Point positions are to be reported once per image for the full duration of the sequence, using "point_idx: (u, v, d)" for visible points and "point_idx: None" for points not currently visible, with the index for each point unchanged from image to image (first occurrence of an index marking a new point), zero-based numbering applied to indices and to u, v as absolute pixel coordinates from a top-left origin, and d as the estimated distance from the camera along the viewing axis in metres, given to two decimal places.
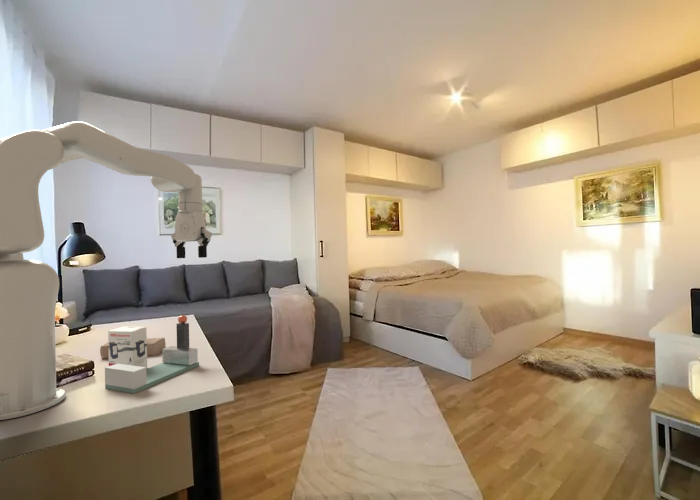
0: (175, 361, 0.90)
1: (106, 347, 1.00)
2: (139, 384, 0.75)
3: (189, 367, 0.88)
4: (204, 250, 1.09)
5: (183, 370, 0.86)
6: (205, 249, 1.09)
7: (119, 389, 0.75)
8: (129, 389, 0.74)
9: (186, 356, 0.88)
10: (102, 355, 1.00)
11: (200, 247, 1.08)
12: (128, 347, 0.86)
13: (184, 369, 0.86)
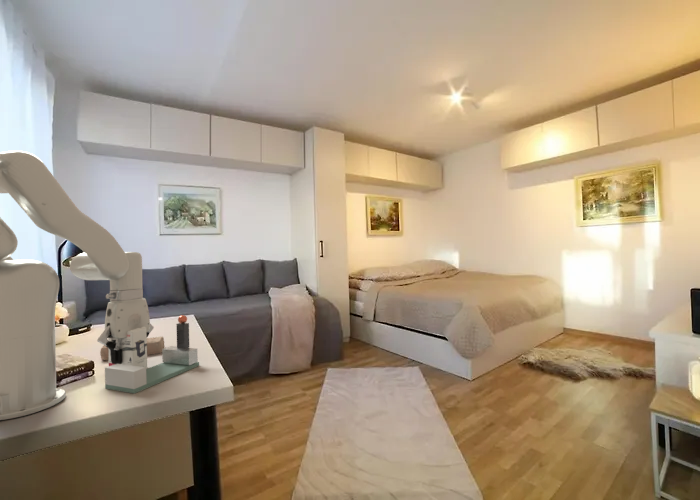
0: (175, 361, 0.90)
1: None
2: (139, 384, 0.75)
3: (189, 367, 0.88)
4: None
5: (183, 370, 0.86)
6: None
7: (119, 389, 0.75)
8: (129, 389, 0.74)
9: (186, 356, 0.88)
10: (103, 357, 0.98)
11: None
12: (128, 347, 0.86)
13: (184, 369, 0.86)
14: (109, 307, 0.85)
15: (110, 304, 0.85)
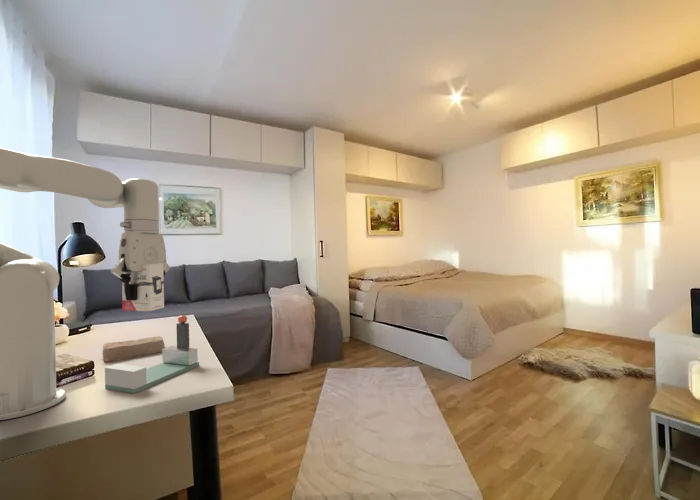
0: (175, 361, 0.90)
1: (111, 349, 0.97)
2: (139, 384, 0.75)
3: (189, 367, 0.88)
4: None
5: (183, 370, 0.86)
6: None
7: (119, 389, 0.75)
8: (129, 389, 0.74)
9: (186, 356, 0.88)
10: (106, 358, 0.97)
11: None
12: (144, 281, 0.78)
13: (184, 369, 0.86)
14: (123, 237, 0.77)
15: (125, 234, 0.77)
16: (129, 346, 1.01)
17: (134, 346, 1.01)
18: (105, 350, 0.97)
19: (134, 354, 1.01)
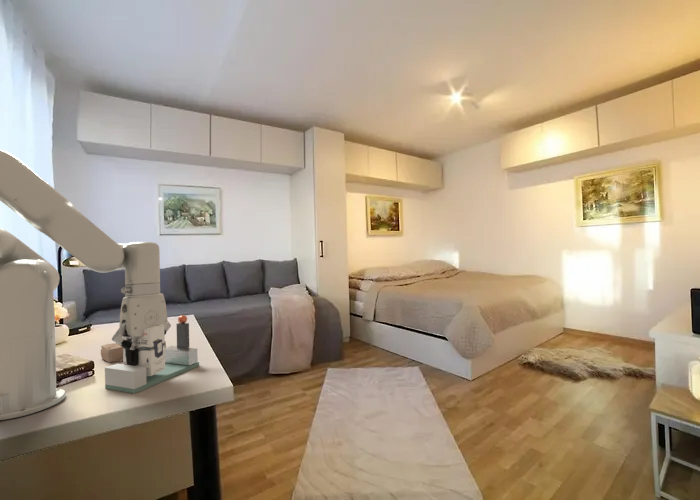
0: (175, 361, 0.90)
1: (116, 349, 0.97)
2: (139, 384, 0.75)
3: (189, 367, 0.88)
4: None
5: (183, 370, 0.86)
6: None
7: (119, 389, 0.75)
8: (129, 389, 0.74)
9: (186, 356, 0.88)
10: (111, 359, 0.96)
11: None
12: (145, 346, 0.78)
13: (184, 369, 0.86)
14: (124, 302, 0.77)
15: (126, 299, 0.77)
16: None
17: None
18: (110, 351, 0.96)
19: None
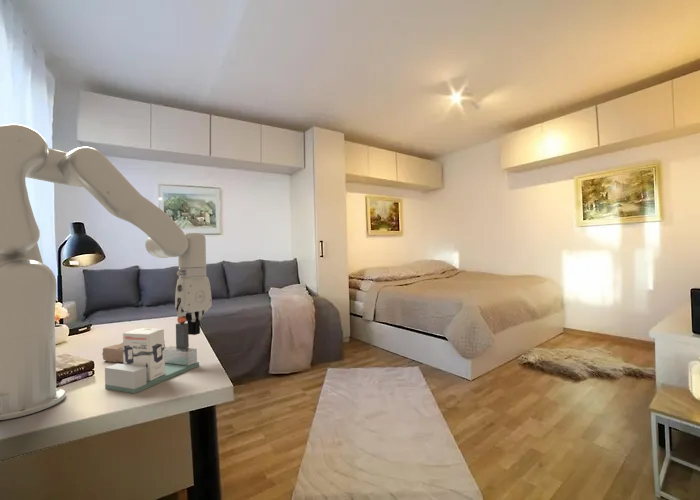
0: (174, 361, 0.89)
1: None
2: (139, 384, 0.75)
3: (189, 367, 0.88)
4: None
5: (183, 370, 0.86)
6: None
7: (119, 389, 0.75)
8: (129, 389, 0.74)
9: (186, 356, 0.88)
10: None
11: None
12: (145, 351, 0.78)
13: (184, 369, 0.86)
14: (179, 283, 0.92)
15: (180, 280, 0.92)
16: None
17: None
18: None
19: None
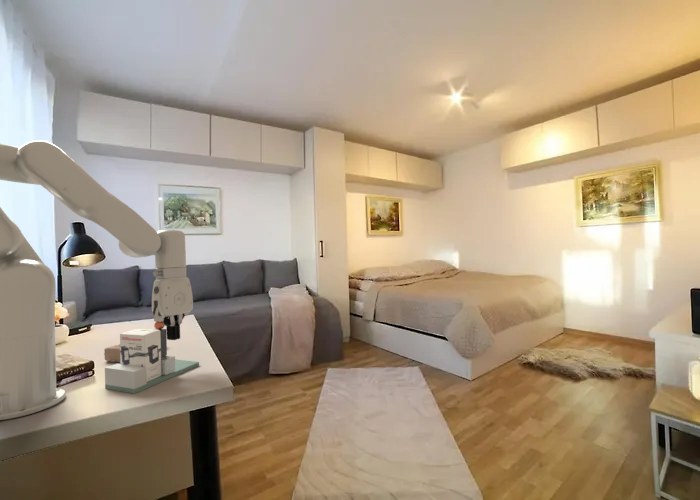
0: None
1: None
2: (139, 384, 0.75)
3: (189, 367, 0.88)
4: None
5: (183, 370, 0.86)
6: None
7: (119, 389, 0.75)
8: (129, 389, 0.74)
9: (163, 365, 0.81)
10: None
11: None
12: (140, 352, 0.77)
13: (184, 369, 0.86)
14: (156, 285, 0.85)
15: (157, 282, 0.85)
16: None
17: None
18: None
19: None
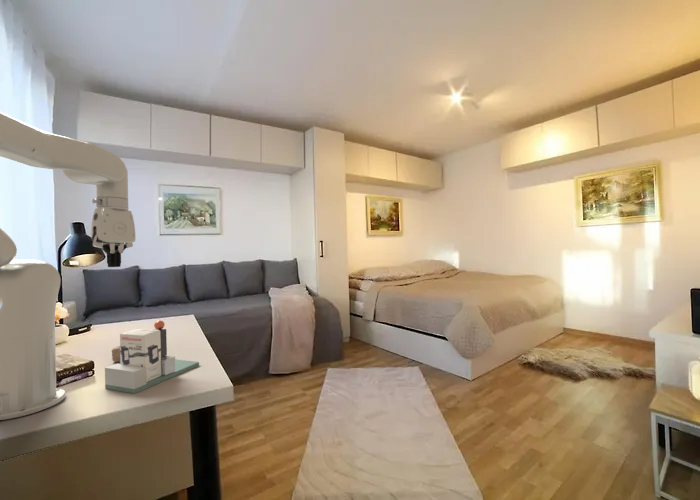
0: None
1: None
2: (139, 384, 0.75)
3: (189, 367, 0.88)
4: None
5: (183, 370, 0.86)
6: None
7: (119, 389, 0.75)
8: (129, 389, 0.74)
9: (162, 365, 0.81)
10: None
11: None
12: (140, 352, 0.77)
13: (184, 369, 0.86)
14: (95, 212, 0.90)
15: (96, 209, 0.90)
16: None
17: None
18: None
19: None
